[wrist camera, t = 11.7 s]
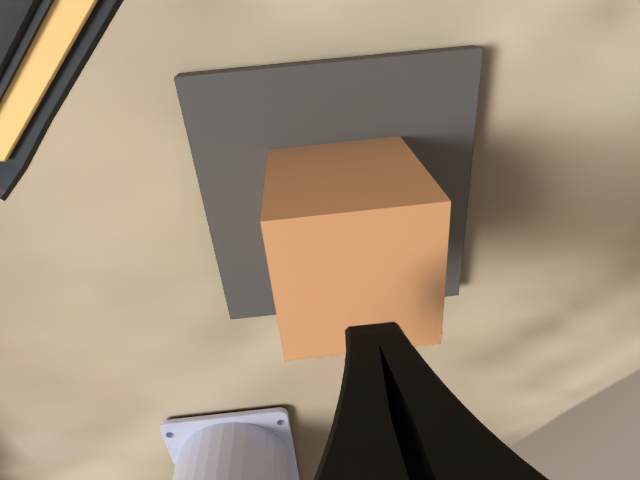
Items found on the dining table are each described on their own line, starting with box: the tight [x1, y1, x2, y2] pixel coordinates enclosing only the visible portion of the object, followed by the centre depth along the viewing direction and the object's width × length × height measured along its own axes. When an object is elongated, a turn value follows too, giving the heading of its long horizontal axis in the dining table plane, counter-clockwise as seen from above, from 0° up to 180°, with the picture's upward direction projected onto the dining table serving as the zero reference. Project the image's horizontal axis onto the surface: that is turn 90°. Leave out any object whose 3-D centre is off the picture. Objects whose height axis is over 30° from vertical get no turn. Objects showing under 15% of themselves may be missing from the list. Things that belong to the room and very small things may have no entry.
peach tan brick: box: [260, 136, 451, 361], centre depth 17 cm, size 6×6×7 cm
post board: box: [174, 45, 483, 319], centre depth 18 cm, size 12×12×6 cm
